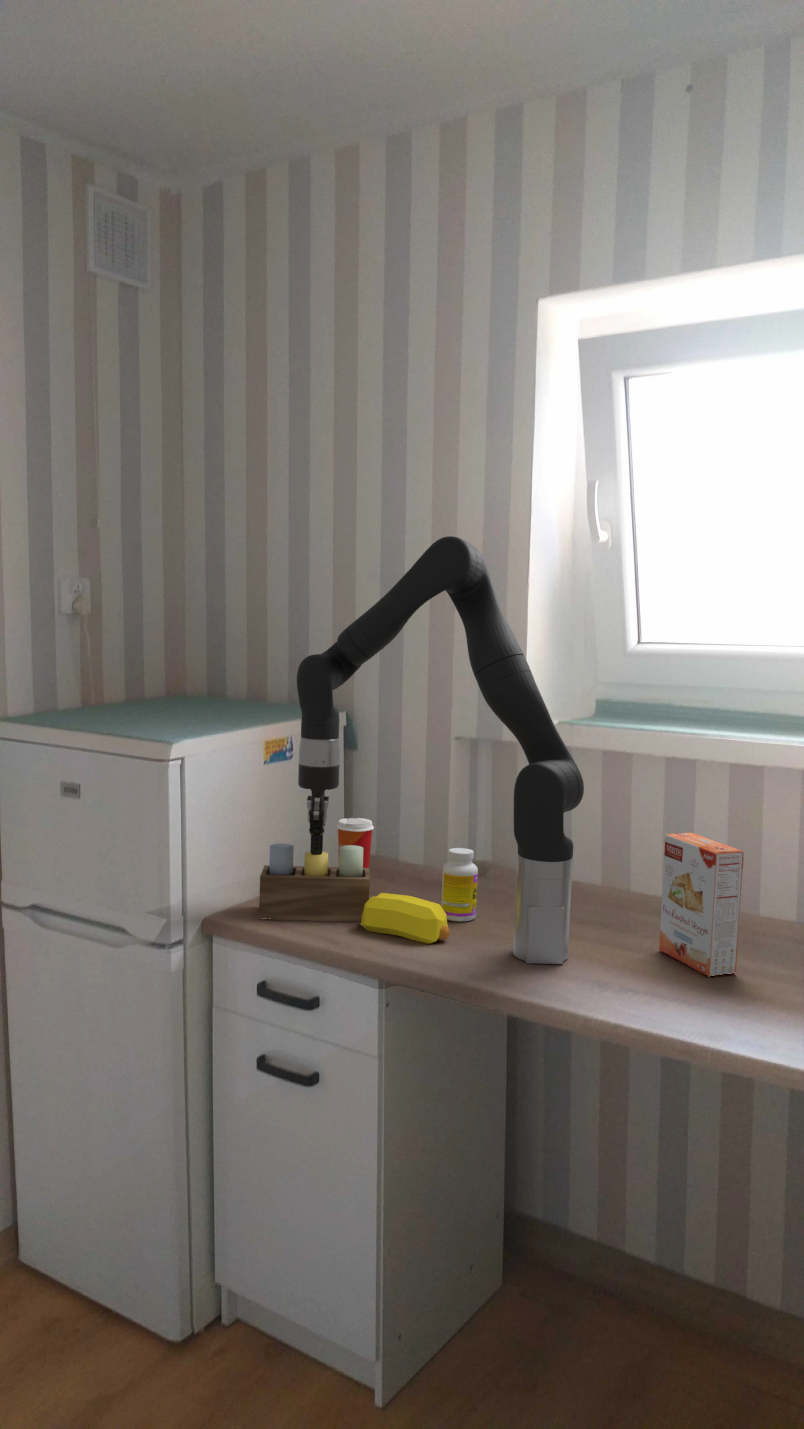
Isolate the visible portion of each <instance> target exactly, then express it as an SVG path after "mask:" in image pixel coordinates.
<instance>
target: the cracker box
mask: <svg viewBox="0 0 804 1429" xmlns="http://www.w3.org/2000/svg"><path fill="white" fill-rule="evenodd" d="M664 836H665V838H664V839H665V840H664V854H663V873H662V891H661V906H660V907H661V909H660V925H659V926H660V927H659V947H658V949H659V950H658V951H660V952H662V953H664V954H665V955H667V954H668V955H667V956H669V957H671V958H673V959H674V960H676V959H677V961H678V960H679V961H678V962H680V961H681V963H682V962H683V963H682V964H684V963H685V964H687V965H688V967H689V966H690V967H689V968H691V967H692V968H691V969H693V968H694V969H695V970H694V969H693V970H694V971H696V970H697V971H696V972H698V971H699V972H698V973H700V972H701V973H703V974H705V975H707V976H712V975H720V974H727V973H732V972H736V973H737V964H738V951H739V950H738V949H739V948H738V947H739V933H740V932H739V931H740V916H741V915H740V914H741V903H742V901H741V900H742V887H743V886H742V885H743V884H742V883H743V869H744V855H745V854H744V851H743V850H741V849H738V848H735V847H733V846H730V845H727V844H724V843H721V842H718V841H716V840H713V839H710V838H708V837H705V836H702V835H700V834H696V833H695V832H683V833H682V832H678V833H677V832H675V833H667V834H665V835H664ZM685 964H684V965H685ZM687 965H686V966H687ZM701 973H700V974H701ZM703 974H702V975H703ZM705 975H704V976H705ZM707 976H706V977H707Z"/></svg>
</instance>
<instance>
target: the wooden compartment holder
mask: <svg viewBox="0 0 804 1429" xmlns="http://www.w3.org/2000/svg"><path fill="white" fill-rule="evenodd" d="M370 877H371V876H370V867H369V868H363V877H339V866H337V867H336V866H328V876H304V865H302V866H301V865H298V866H297V865H293V875H269V865H264V866H263V868H262V871H261V873H260V875H259V905H258V906H259V910H258V912H259V913H258V914H259V915H258V919H259V920H262V919H261V918H267V919H269V918H271V919H288V920H287V921H305V920H306V921H308V922H309V921H311V922H312V921H313V922H315V921H316V922H317V921H318V922H319V921H320V922H348V923H349V922H354V923H355V922H357V923H358V922H359V923H361V914H362V912H363V910H364V905H365V903H366V902H367V901H368V900H369V899H370Z"/></svg>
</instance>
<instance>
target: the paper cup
mask: <svg viewBox="0 0 804 1429" xmlns="http://www.w3.org/2000/svg"><path fill="white" fill-rule="evenodd" d="M337 822H338V823H337V824H336V828H337V843H338V844H337V845H338V846H337V847H338V849H337V850H338V851H337V852H338V859H339V858H340V847H341V846H346V845H355V846H361V847H363V868H369V869H370V859H371V848H372V837H373V830H374V829H375V826H374V825H373V821H372V819H368V818H361V817H356V818H355V817H349V818H347V817H346V818H341V819H339V820H338V821H337Z"/></svg>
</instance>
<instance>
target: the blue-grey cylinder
mask: <svg viewBox="0 0 804 1429" xmlns="http://www.w3.org/2000/svg"><path fill="white" fill-rule="evenodd" d="M268 866H269V875H293V866H294V845H293V844H290V843H273V844H270V845H269V865H268Z"/></svg>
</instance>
